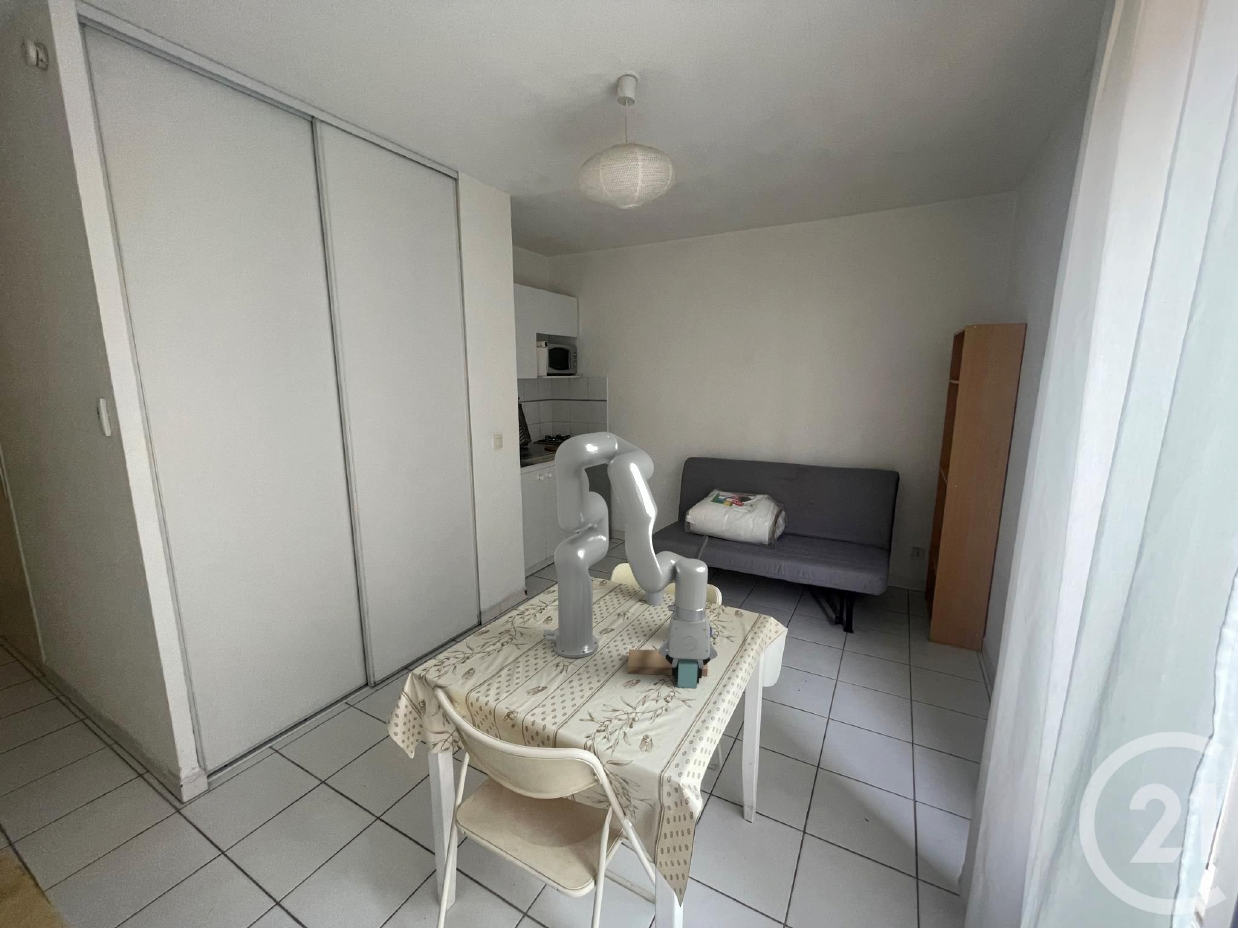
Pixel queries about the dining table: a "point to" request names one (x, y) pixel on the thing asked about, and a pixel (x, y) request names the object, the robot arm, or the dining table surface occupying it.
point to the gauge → (687, 673)
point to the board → (651, 663)
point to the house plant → (654, 598)
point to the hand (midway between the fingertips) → (686, 678)
